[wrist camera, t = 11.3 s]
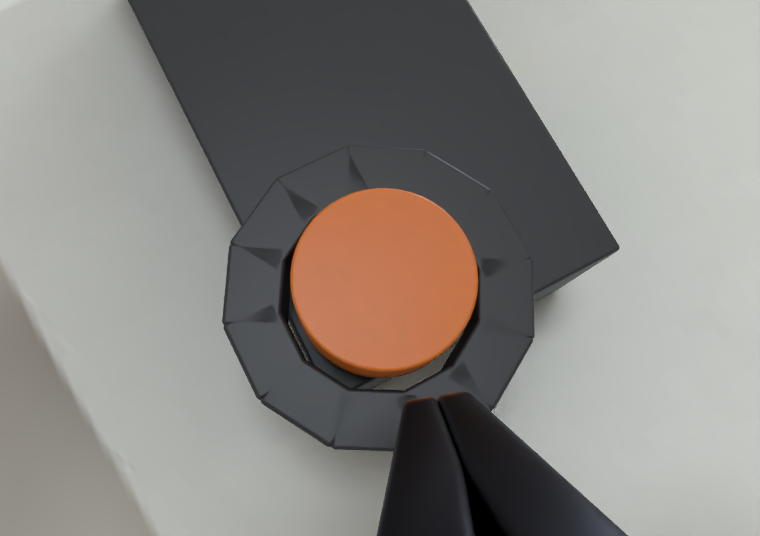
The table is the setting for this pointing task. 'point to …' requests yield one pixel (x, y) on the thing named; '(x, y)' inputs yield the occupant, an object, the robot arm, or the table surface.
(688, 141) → the table surface
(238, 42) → the dark gray block
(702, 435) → the table surface
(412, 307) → the button
